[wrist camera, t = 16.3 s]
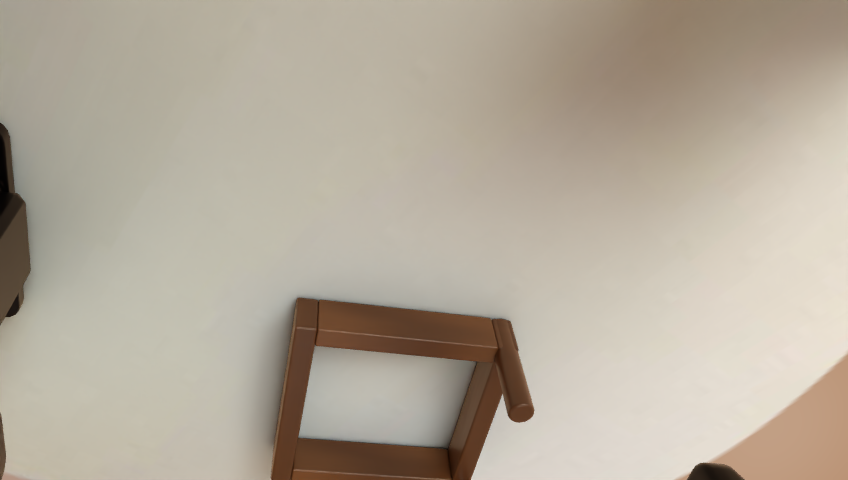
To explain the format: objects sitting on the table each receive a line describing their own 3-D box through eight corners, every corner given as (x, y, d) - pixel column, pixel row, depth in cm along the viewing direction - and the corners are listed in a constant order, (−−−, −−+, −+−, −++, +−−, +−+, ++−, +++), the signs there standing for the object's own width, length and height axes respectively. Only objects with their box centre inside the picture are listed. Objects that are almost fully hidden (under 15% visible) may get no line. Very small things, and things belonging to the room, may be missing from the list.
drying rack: (273, 449, 28) (264, 544, 25) (297, 295, 25) (290, 384, 21) (462, 462, 30) (477, 555, 27) (512, 318, 26) (538, 406, 23)
